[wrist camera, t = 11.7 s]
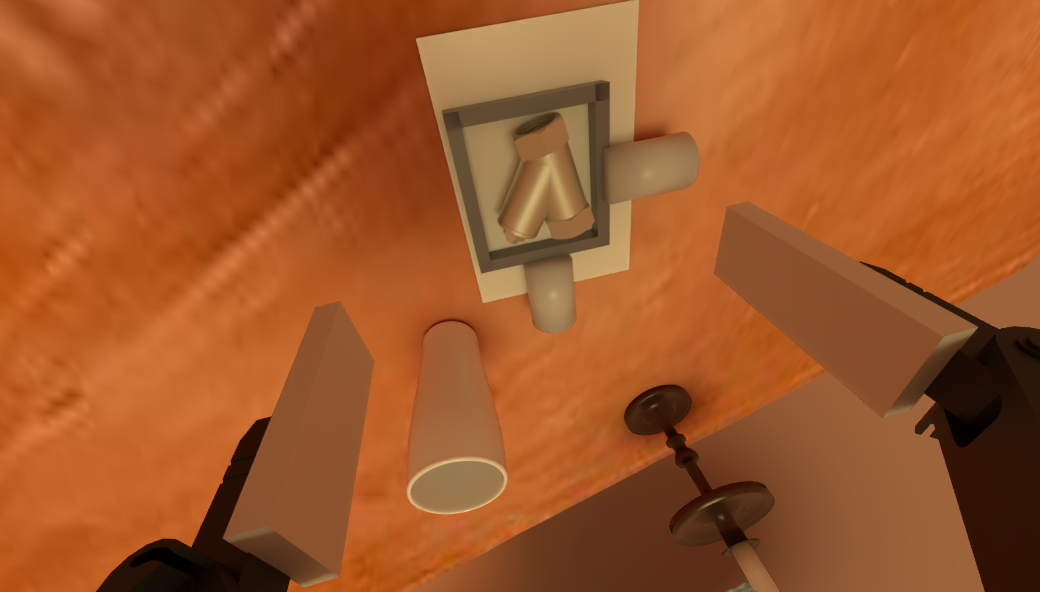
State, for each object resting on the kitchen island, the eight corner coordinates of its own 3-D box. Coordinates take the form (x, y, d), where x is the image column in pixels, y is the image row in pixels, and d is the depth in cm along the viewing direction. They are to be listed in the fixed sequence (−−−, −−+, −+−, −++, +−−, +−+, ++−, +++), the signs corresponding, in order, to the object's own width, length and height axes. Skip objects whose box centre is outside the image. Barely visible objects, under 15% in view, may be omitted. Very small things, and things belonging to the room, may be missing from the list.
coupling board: (416, 38, 23) (412, 37, 19) (677, -8, 24) (724, -17, 20) (486, 314, 36) (492, 348, 32) (653, 275, 37) (679, 303, 33)
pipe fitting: (509, 239, 31) (585, 207, 30) (514, 263, 28) (598, 228, 27) (465, 148, 26) (553, 107, 25) (465, 165, 23) (566, 119, 22)
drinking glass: (399, 334, 35) (381, 490, 23) (460, 300, 34) (475, 443, 22) (441, 374, 39) (444, 525, 27) (496, 344, 38) (526, 487, 26)
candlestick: (657, 439, 54) (900, 873, 26) (601, 425, 50) (824, 935, 21) (710, 390, 50) (1073, 850, 22) (654, 371, 45) (1023, 922, 17)
